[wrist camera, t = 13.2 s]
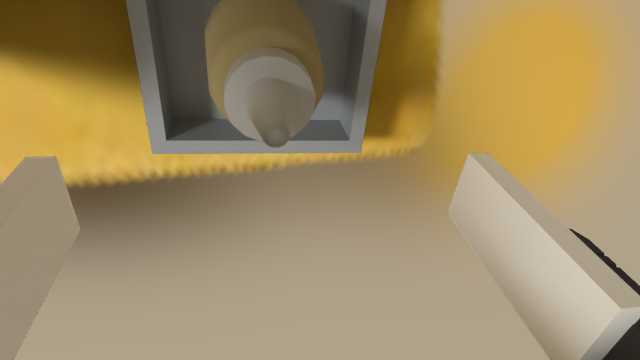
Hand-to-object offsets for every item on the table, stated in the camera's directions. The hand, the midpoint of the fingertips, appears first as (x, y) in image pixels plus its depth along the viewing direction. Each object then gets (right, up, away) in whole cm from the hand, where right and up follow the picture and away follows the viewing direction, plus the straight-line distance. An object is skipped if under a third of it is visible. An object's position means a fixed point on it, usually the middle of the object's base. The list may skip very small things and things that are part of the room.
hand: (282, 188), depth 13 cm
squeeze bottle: (-4, +12, +18) cm, 22 cm away
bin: (-4, +13, +19) cm, 23 cm away
